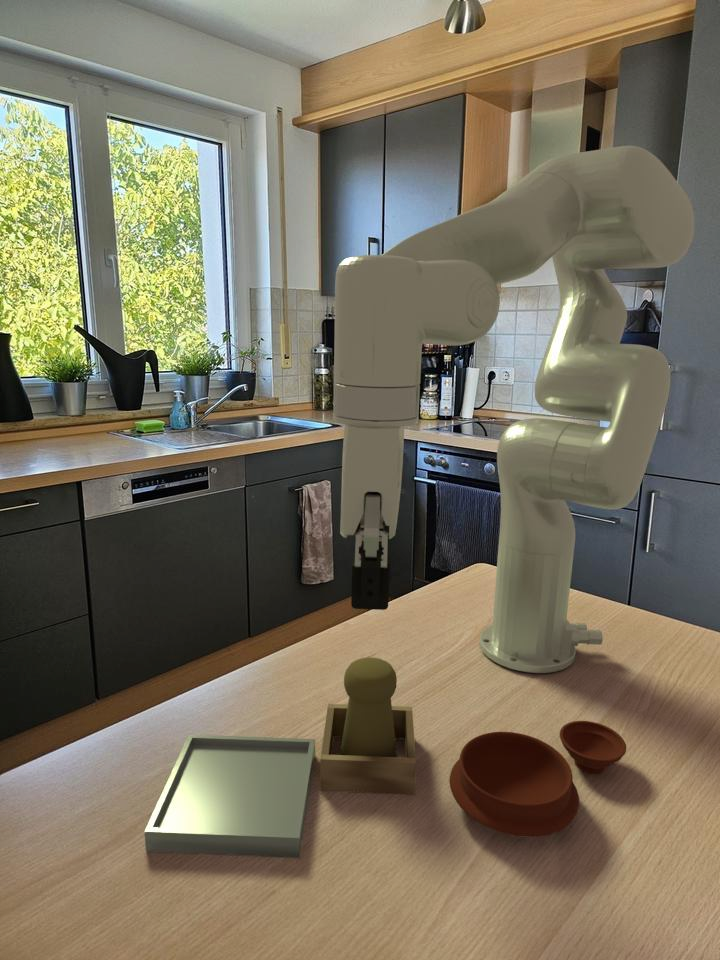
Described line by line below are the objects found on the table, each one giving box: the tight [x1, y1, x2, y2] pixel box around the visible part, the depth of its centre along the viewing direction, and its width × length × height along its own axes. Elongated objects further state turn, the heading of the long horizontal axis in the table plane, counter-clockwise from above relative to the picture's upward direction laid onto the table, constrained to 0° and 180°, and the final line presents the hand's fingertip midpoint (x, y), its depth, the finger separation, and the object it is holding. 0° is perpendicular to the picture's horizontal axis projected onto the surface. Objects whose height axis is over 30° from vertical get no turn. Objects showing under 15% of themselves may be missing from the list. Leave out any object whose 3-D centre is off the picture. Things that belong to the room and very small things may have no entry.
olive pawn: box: [339, 656, 398, 757], centre depth 66 cm, size 6×6×11 cm
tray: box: [144, 734, 316, 859], centre depth 61 cm, size 13×13×2 cm
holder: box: [319, 703, 417, 795], centre depth 67 cm, size 9×9×4 cm
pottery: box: [449, 720, 627, 838], centre depth 63 cm, size 12×20×4 cm, turn 122°
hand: (370, 585), depth 62 cm, fingers open, 9 cm apart
